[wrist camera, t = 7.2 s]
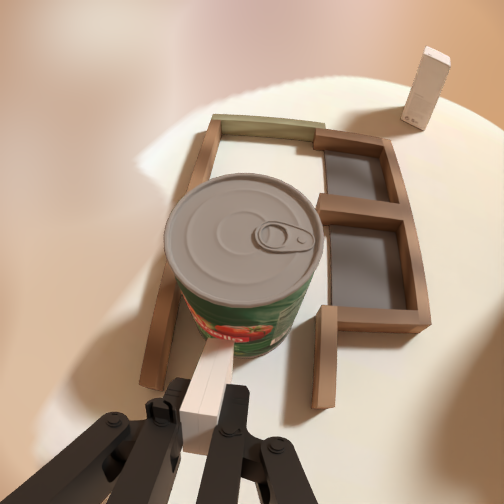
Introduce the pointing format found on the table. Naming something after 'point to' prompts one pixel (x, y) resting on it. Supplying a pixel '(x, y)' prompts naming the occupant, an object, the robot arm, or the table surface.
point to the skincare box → (426, 88)
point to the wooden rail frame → (341, 244)
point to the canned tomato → (244, 258)
